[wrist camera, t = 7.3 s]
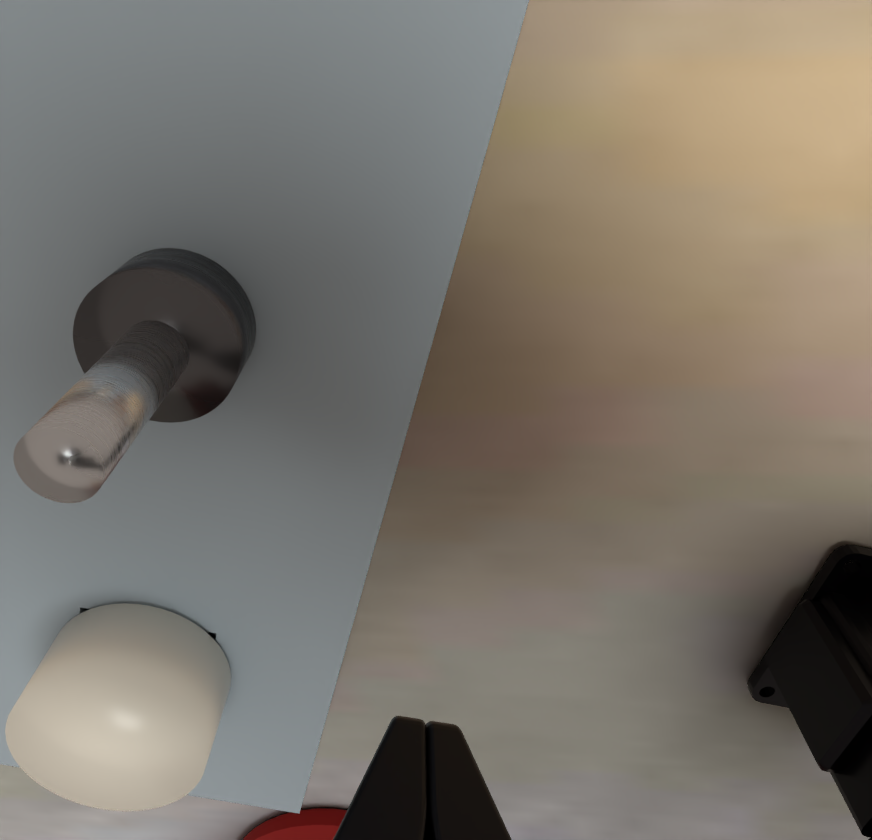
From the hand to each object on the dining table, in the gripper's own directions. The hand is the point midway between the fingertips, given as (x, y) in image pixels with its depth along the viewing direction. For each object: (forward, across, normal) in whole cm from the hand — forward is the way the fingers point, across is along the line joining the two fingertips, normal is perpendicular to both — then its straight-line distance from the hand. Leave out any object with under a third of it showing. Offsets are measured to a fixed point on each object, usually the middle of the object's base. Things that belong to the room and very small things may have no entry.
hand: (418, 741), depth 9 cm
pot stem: (+8, +5, -2) cm, 10 cm away
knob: (+11, +6, +8) cm, 15 cm away
